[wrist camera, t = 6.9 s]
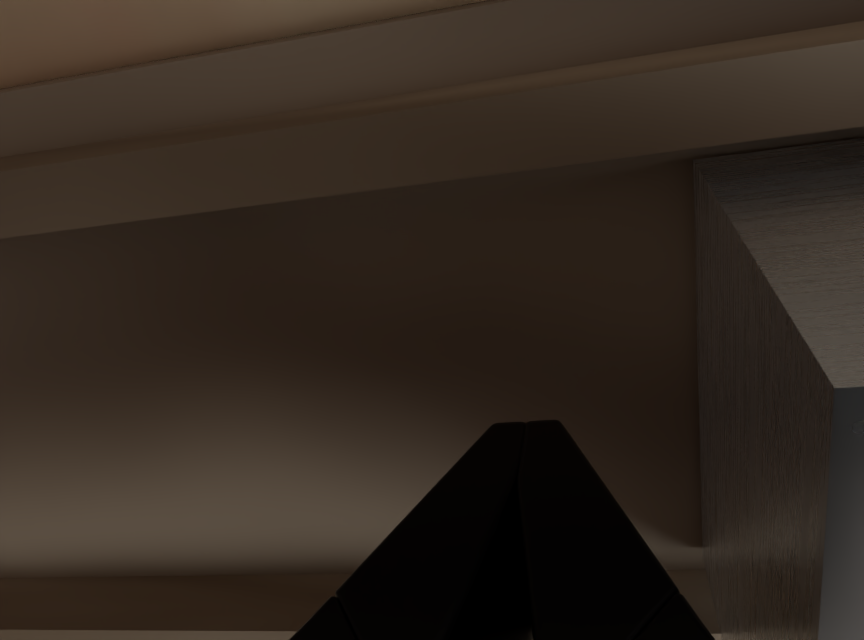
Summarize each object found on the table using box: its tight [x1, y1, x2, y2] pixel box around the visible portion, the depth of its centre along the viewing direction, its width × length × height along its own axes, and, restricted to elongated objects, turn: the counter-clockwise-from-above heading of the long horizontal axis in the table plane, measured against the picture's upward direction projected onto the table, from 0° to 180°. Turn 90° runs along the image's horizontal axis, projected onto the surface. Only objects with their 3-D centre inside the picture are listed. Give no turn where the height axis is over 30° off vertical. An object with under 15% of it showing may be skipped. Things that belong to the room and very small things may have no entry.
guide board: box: [0, 0, 864, 640], centre depth 9 cm, size 10×25×5 cm, turn 100°
